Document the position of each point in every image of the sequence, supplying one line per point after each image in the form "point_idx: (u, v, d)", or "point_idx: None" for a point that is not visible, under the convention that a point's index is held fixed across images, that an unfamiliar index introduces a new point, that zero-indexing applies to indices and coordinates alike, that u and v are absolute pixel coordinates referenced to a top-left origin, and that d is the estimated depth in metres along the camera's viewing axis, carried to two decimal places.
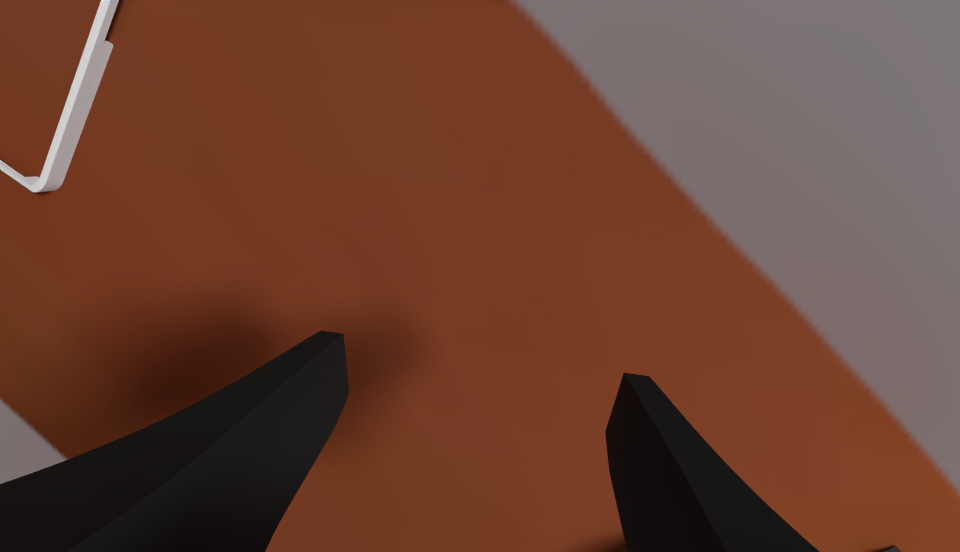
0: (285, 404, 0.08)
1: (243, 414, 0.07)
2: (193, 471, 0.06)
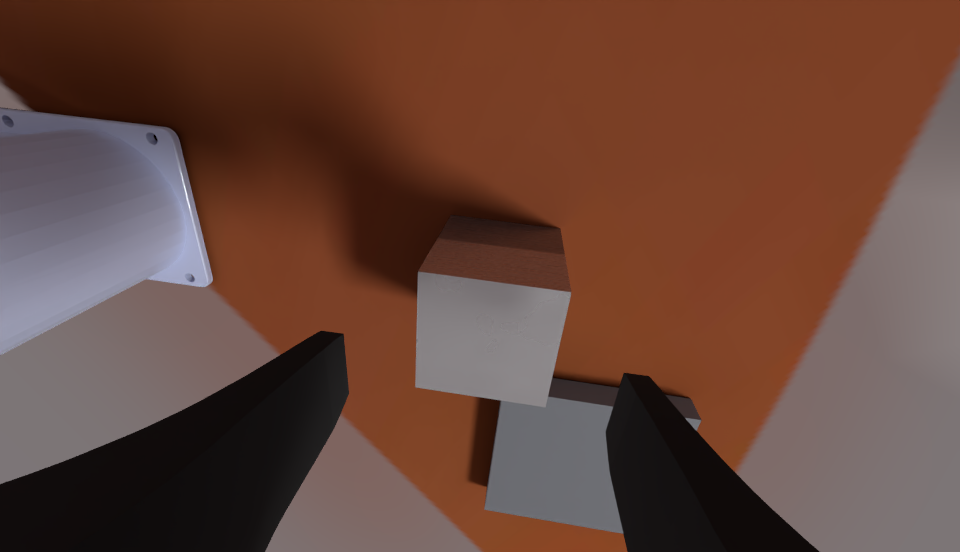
0: (285, 404, 0.08)
1: (243, 414, 0.07)
2: (193, 471, 0.06)
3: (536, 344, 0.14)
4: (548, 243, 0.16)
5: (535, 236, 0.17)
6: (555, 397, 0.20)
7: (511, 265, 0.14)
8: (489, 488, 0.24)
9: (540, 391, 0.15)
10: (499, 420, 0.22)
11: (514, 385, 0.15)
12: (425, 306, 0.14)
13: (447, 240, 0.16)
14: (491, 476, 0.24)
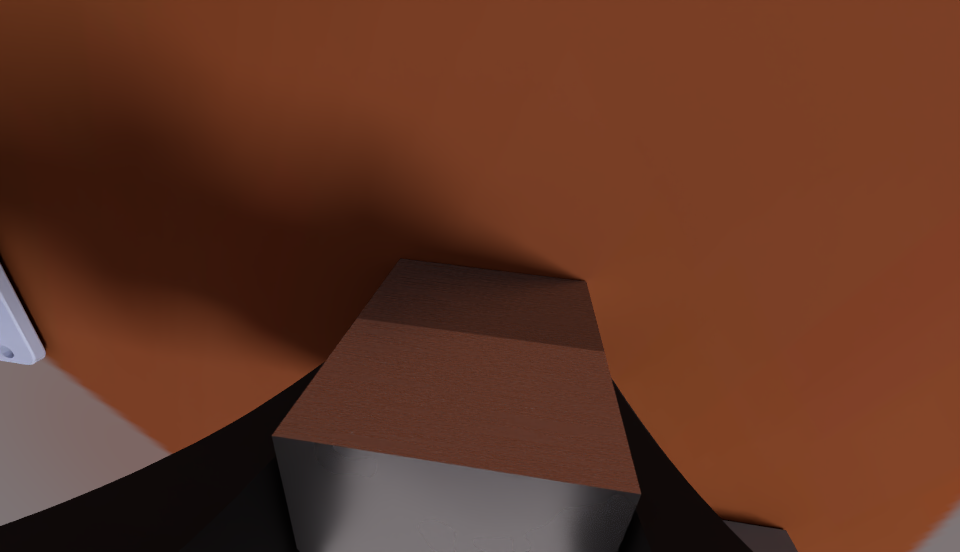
0: None
1: None
2: (260, 482, 0.06)
3: None
4: (569, 322, 0.09)
5: (544, 304, 0.09)
6: None
7: (496, 394, 0.07)
8: None
9: None
10: None
11: None
12: (303, 498, 0.06)
13: (375, 323, 0.08)
14: None
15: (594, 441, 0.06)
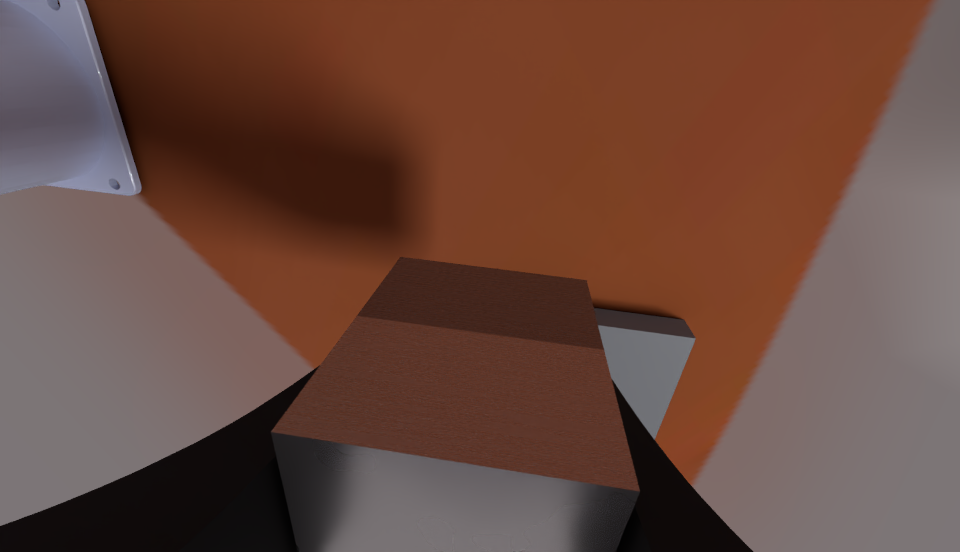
0: None
1: None
2: (260, 482, 0.06)
3: None
4: (569, 320, 0.09)
5: (543, 302, 0.09)
6: None
7: (496, 392, 0.07)
8: None
9: None
10: None
11: None
12: (302, 495, 0.06)
13: (375, 321, 0.08)
14: None
15: (593, 438, 0.06)
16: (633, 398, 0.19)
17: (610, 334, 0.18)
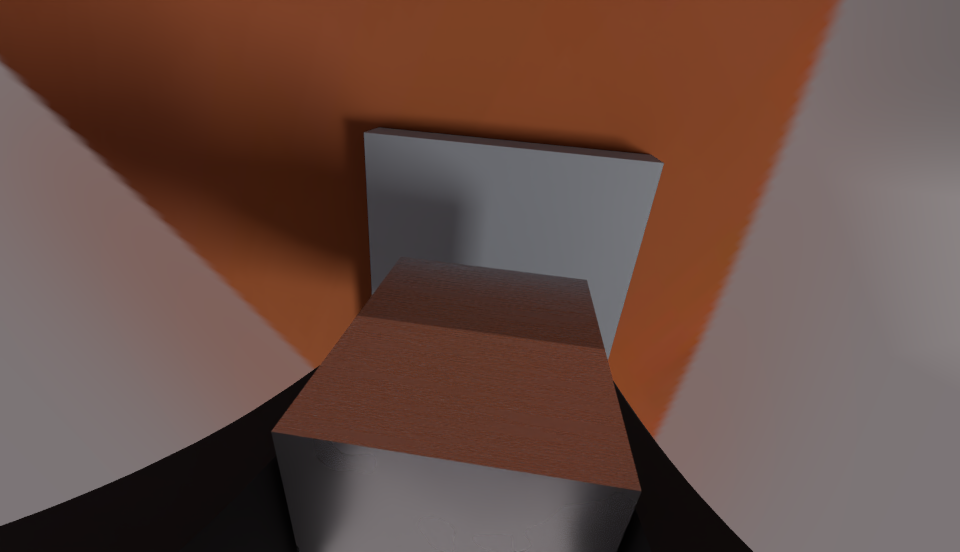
0: None
1: None
2: (260, 482, 0.06)
3: None
4: (570, 319, 0.09)
5: (544, 302, 0.09)
6: (441, 140, 0.13)
7: (496, 392, 0.07)
8: None
9: None
10: (368, 195, 0.15)
11: None
12: (302, 495, 0.06)
13: (375, 320, 0.08)
14: None
15: (594, 438, 0.06)
16: (586, 264, 0.15)
17: (550, 164, 0.13)
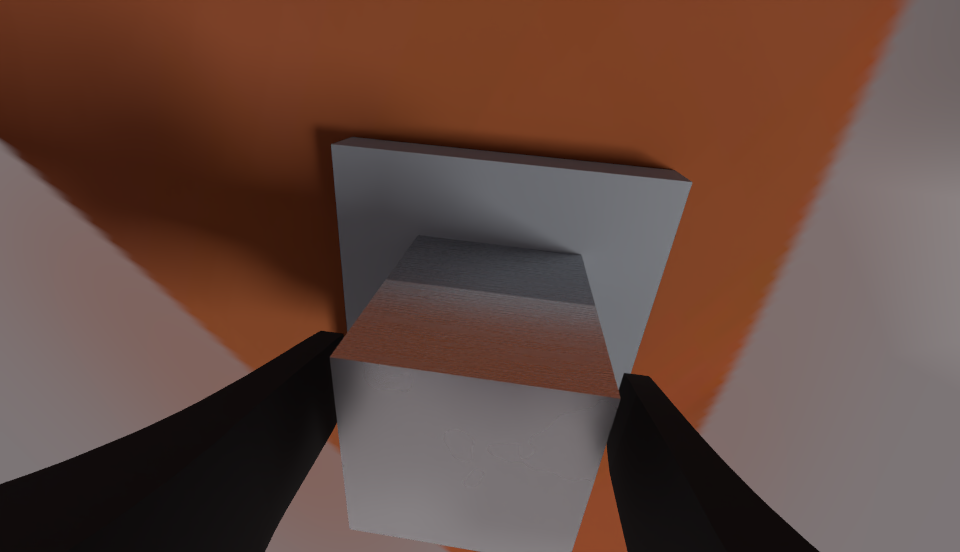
0: (285, 404, 0.08)
1: (243, 414, 0.07)
2: (193, 471, 0.06)
3: (552, 478, 0.08)
4: (566, 284, 0.10)
5: (544, 270, 0.11)
6: (423, 153, 0.11)
7: (506, 334, 0.08)
8: None
9: (559, 545, 0.09)
10: (339, 217, 0.12)
11: (514, 534, 0.09)
12: (350, 414, 0.08)
13: (401, 283, 0.10)
14: None
15: (585, 365, 0.07)
16: (597, 298, 0.13)
17: (554, 182, 0.11)
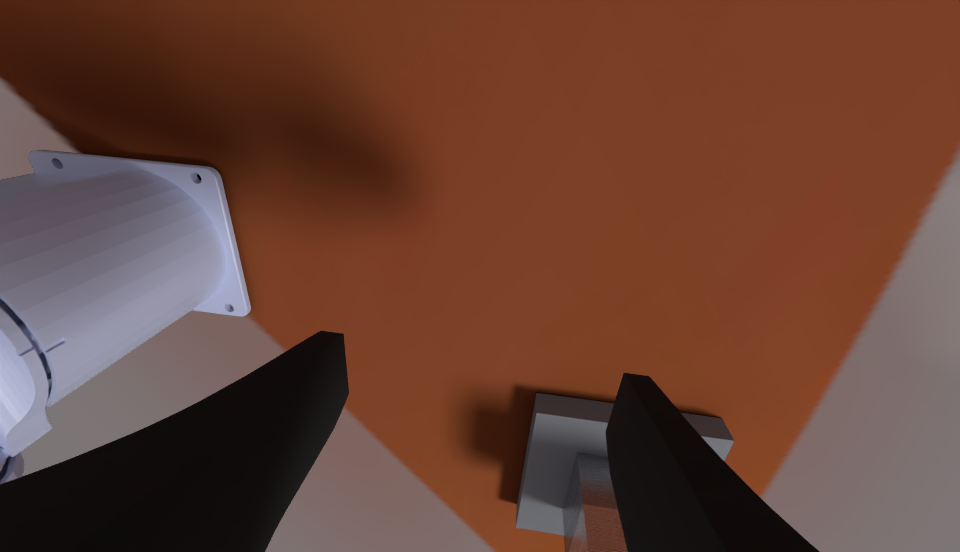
0: (285, 404, 0.08)
1: (243, 414, 0.07)
2: (193, 471, 0.06)
3: None
4: None
5: None
6: (588, 420, 0.21)
7: None
8: (521, 507, 0.25)
9: None
10: (532, 442, 0.22)
11: None
12: None
13: (592, 507, 0.19)
14: (523, 495, 0.24)
15: None
16: None
17: None
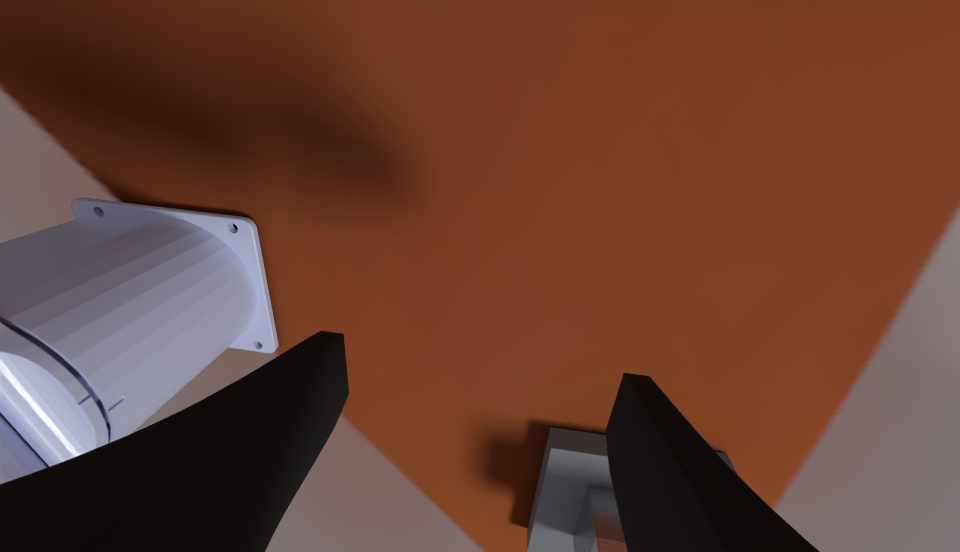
0: (285, 404, 0.08)
1: (243, 414, 0.07)
2: (193, 471, 0.06)
3: None
4: None
5: None
6: (600, 455, 0.22)
7: None
8: (533, 533, 0.26)
9: None
10: (546, 474, 0.23)
11: None
12: None
13: (604, 540, 0.20)
14: (535, 522, 0.25)
15: None
16: None
17: None
